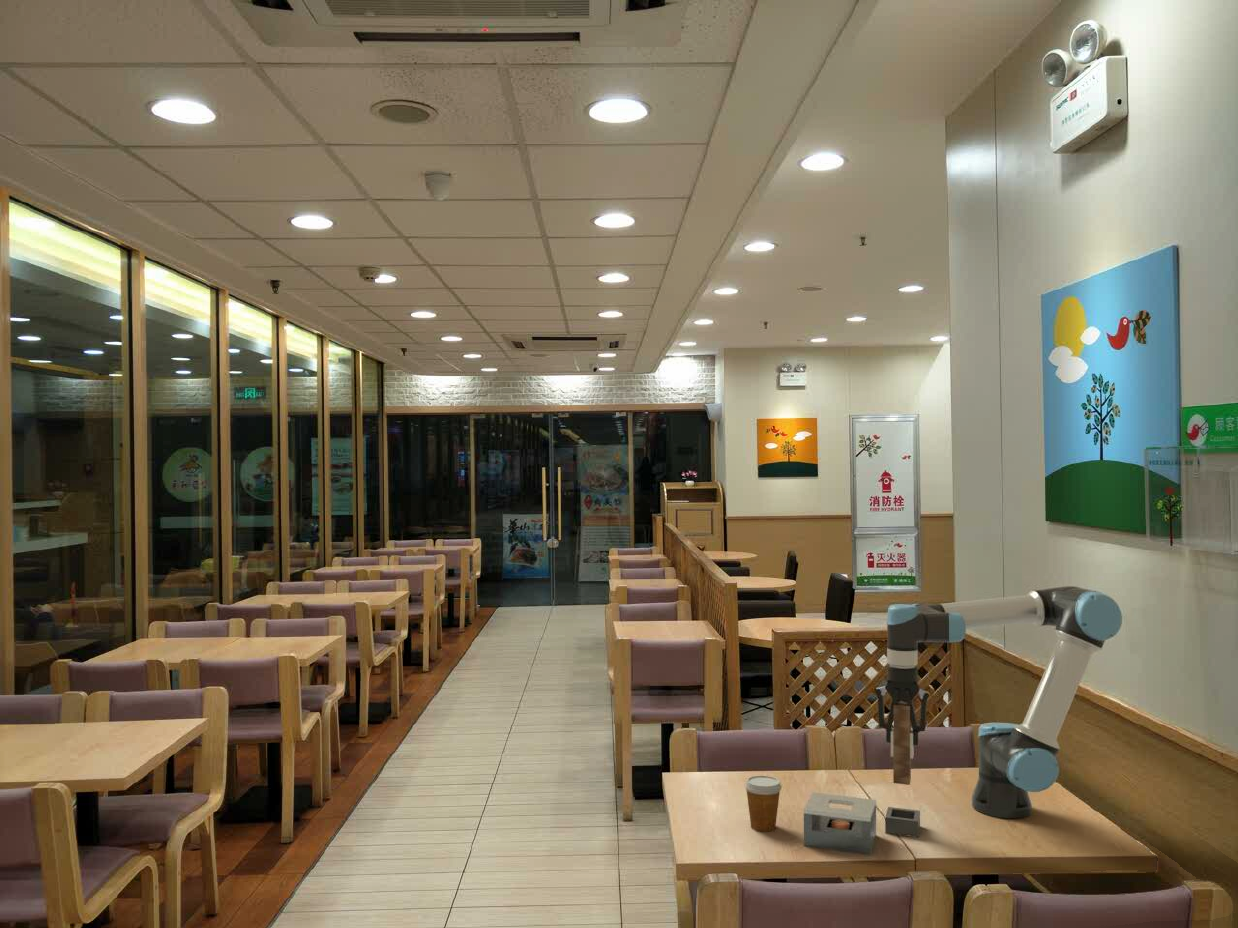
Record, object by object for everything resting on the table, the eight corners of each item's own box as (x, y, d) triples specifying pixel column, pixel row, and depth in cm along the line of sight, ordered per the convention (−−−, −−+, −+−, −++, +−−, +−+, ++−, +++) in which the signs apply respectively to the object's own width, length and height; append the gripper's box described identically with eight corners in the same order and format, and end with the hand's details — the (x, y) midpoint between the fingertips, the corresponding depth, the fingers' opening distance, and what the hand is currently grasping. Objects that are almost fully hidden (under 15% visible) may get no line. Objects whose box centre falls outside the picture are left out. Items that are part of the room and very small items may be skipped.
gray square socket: (920, 825, 246) (920, 810, 246) (918, 837, 239) (918, 821, 239) (888, 821, 249) (888, 806, 249) (885, 832, 242) (885, 817, 242)
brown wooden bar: (910, 779, 245) (910, 702, 245) (909, 784, 242) (909, 706, 242) (894, 778, 247) (894, 701, 247) (893, 782, 243) (893, 704, 243)
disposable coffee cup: (756, 817, 253) (756, 772, 253) (788, 825, 247) (788, 779, 247) (737, 827, 245) (737, 781, 245) (769, 836, 239) (769, 789, 239)
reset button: (850, 836, 238) (850, 820, 238) (848, 843, 234) (848, 827, 234) (832, 834, 240) (832, 818, 240) (830, 840, 236) (830, 824, 236)
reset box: (876, 835, 240) (876, 799, 240) (870, 854, 228) (870, 817, 228) (812, 826, 246) (812, 792, 246) (803, 845, 234) (803, 808, 234)
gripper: (937, 664, 245) (937, 755, 245) (869, 659, 251) (869, 748, 251) (936, 670, 238) (936, 764, 238) (866, 665, 244) (866, 756, 244)
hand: (902, 755), depth 244 cm, fingers closed on brown wooden bar, 4 cm apart
